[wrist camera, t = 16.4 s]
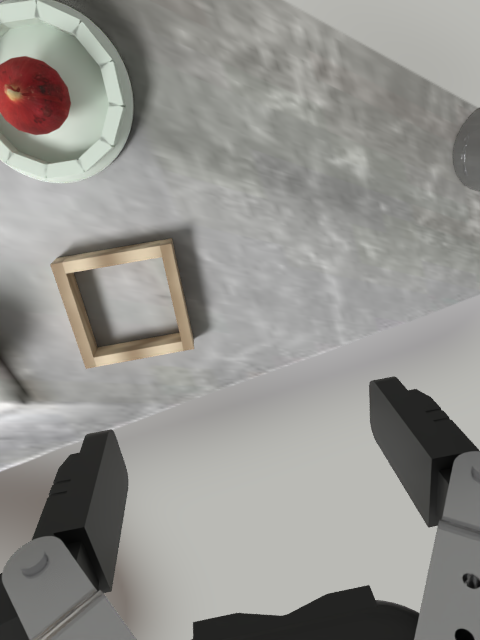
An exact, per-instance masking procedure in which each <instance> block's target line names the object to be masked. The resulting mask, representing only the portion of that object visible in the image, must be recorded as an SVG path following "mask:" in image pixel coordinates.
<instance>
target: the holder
mask: <svg viewBox="0 0 480 640" xmlns="http://www.w3.org/2000/svg"><path fill="white" fill-rule="evenodd" d="M159 257H162V258H163V263H164V267H165V271H166V276H167V280H168V285H169V289H170V293H171V298H172V302H173V306H174V311H175V315H176V320H177V324H178V328H179V333H174V334H169V335H163V336H158V337H152V338H147V339H141V340H136V341H130V342H125V343H119V344H114V345H108V346H103V347H97V344H96V341H95V338H94V335H93V331H92V328H91V325H90V322H89V319H88V316H87V313H86V310H85V307H84V303H83V300H82V297H81V294H80V291H79V288H78V285H77V282H76V279H75V276H74V272H78V271H84V270H90V269H96V268H101V267H107V266H113V265H119V264H124V263H130V262H136V261H142V260H148V259H153V258H159ZM50 265H51V268H52V271H53V274H54V277H55V280H56V283H57V286H58V289H59V291H60V294H61V297H62V300H63V303H64V306H65V309H66V312H67V315H68V318H69V321H70V324H71V326H72V329H73V332H74V335H75V338H76V341H77V344H78V347H79V350H80V353H81V356H82V359H83V361H84V364H85V367H86V369H87V368H93V367H98V366H103V365H109V364H114V363H120V362H125V361H131V360H136V359H142V358H147V357H152V356H158V355H163V354H169V353H174V352H180V351H185V350H191V349H194V338H193V334H192V329H191V325H190V320H189V315H188V311H187V306H186V301H185V297H184V292H183V287H182V283H181V278H180V273H179V269H178V264H177V259H176V255H175V250H174V245H173V241H172V238H170V239H164V240H158V241H153V242H147V243H141V244H135V245H129V246H124V247H118V248H112V249H106V250H100V251H94V252H89V253H83V254H77V255H71V256H65V257H60V258H56V259H55V260H54V261H53V262H52V263H51V264H50Z"/></svg>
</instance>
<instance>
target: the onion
mask: <svg viewBox="0 0 480 640" xmlns="http://www.w3.org/2000/svg"><path fill="white" fill-rule="evenodd" d="M70 106H71V101H70V96H69V91H68V87H67V86H66V84H65V83H64V81H63V80H62V78H61V77H60V75H59V74H58V72H57V71H56V70H55V69H53V68H52V67H51V66H49V65H48V64H46V63H45V62H44V61H41V60H38V59H34V58H31V57H27V56H22V57H15V58H11V59H9V60H7V61H5V62H4V63H2V64H0V113H1V114H2V116H3V117H4V119H5V120H6V121H7V122H8V123H10V124H11V125H12V126H14V127H15V128H16V129H18V130H19V131H23V132H26V133H30V134H33V135H42V134H49V133H51V132H53V131H55V130H57V129H59V128H60V127H61V126H62V124H63V123H64V122H65V120H66V119H67V118H68V114H69V110H70Z"/></svg>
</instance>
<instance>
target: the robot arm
mask: <svg viewBox="0 0 480 640" xmlns="http://www.w3.org/2000/svg"><path fill="white" fill-rule="evenodd" d="M453 164H454V168H455V172H456V174H457V176H458V178H459V179H460V180H461V182H462V183H463V184H464V185H466V186H467V187H469V188H470V189H473V190H476V191H480V108H479V109H477V110H476V111H475V112H474V113H473V114H472V115H471V116H470V117H469V118H468V119H467V120H466V122H465V123H464V124H463V126H462V127H461V129H460V131H459V133H458V135H457V138H456V141H455V144H454V150H453ZM369 395H370V423H371V429H372V432H373V435H374V438H375V440H376V442H377V444H378V445H379V447H380V448H381V450H382V452H383V454H384V455H385V457H386V458H387V460H388V462H389V463H390V465H391V467H392V468H393V470H394V471H395V473H396V475H397V477H398V478H399V480H400V482H401V483H402V485H403V486H404V488H405V490H406V491H407V493H408V495H409V496H410V498H411V500H412V501H413V503H414V505H415V506H416V508H417V509H418V511H419V513H420V514H421V516H422V518H423V519H424V521H425V523H426V524H427V526H428V527H433V526H438V528H437V533H436V537H435V542H434V547H433V552H432V557H431V561H430V566H429V571H428V576H427V581H426V585H425V590H424V595H423V600H422V604H421V609H420V613H418V612H416V611H414V610H412V609H409V608H407V607H405V606H402V605H399V604H396V603H392V602H386V601H380V600H375V598H374V596H373V593H372V591H371V588H370V586H369V585H368V586H363V587H358V588H354V589H349V590H344V591H339V592H334V593H330V594H326V595H324V596H322V597H320V598H318V599H316V600H314V601H312V602H311V603H309V604H307V605H305V606H303V607H301V608H299V609H297V610H295V611H293V612H291V613H290V614H287V615H284V616H275V615H260V614H244V613H235V614H230V615H226V616H221V617H216V618H211V619H206V620H202V621H197V622H193V639H192V640H480V451H479V449H477V447H476V446H475V445H474V444H473V443H472V442H471V441H470V440H469V439H468V438H467V436H466V435H465V434H464V433H463V432H462V431H461V430H460V429H459V428H458V427H457V425H456V424H455V423H454V422H453V421H452V420H450V419H449V417H448V416H447V414H446V413H445V412H444V411H442V410H441V408H440V407H439V406H438V405H437V403H436V402H435V401H434V400H433V399H432V398H431V397H429V396H428V395H426V394H424V393H422V392H420V391H418V390H417V389H414V390H409V391H408V390H407V389H406V388H405V387H404V386H403V385H402V383H401V382H400V381H399V380H398V379H397V378H396V377H389V378H384V379H378V380H373V381H371V382H370V385H369ZM53 483H54V485H52V488H51V490H50V493H49V497H48V498H47V501H46V504H45V506H44V509H43V512H42V514H41V517H40V520H39V522H38V525H37V528H36V531H35V533H34V536H33V539H32V541H30V542H28V543H27V544H25V545H23V546H22V547H21V548H19V549H18V550H17V551H16V552H15V553H14V554H13V555H12V556H11V558H10V559H9V560H8V562H7V563H6V565H5V567H4V570H3V573H1V574H0V640H137V639H136V638H135V637H134V635H133V634H132V632H131V631H130V630H129V628H128V627H127V625H126V624H125V623H124V621H123V620H122V618H121V617H120V616H119V614H118V613H117V612H116V610H115V609H114V607H113V606H112V605H111V603H110V602H109V600H108V599H107V597H106V596H105V595H104V593H106V592H111V591H112V584H113V578H114V571H115V565H116V560H117V554H118V547H119V541H120V535H121V528H122V523H123V517H124V510H125V504H126V498H127V491H128V474H127V469H126V466H125V463H124V460H123V457H122V454H121V451H120V448H119V445H118V442H117V439H116V436H115V434H114V431H113V430H106V431H101V432H96V433H90V434H87V435H86V436H85V438H84V441H83V444H82V447H81V450H80V453H76V454H71V455H70V456H69V457H68V458H67V459H66V460H65V462H64V463H63V464H62V465H61V466H60V467H59V469H58V472H57V474H56V477H55V480H54V482H53Z"/></svg>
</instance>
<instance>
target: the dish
mask: <svg viewBox="0 0 480 640" xmlns="http://www.w3.org/2000/svg"><path fill="white" fill-rule="evenodd" d="M22 56H27V57H31V58H34V59H38V60H41V61H44V62H45V63H46V64H48V65H49V66H51V67H52V68H53V69H55V70H56V71H57V72H58V74H59V75H60V77H61V78H62V80H63V81H64V83H65V84H66V86H67V87H68V91H69V96H70V101H71V106H70V110H69V114H68V118H67V119H66V120H65V122H64V123H63V124H62V126H61V127H60V128H59V129H57V130H55V131H53V132H51V133H49V134H42V135H33V134H30V133H26V132H23V131H19V130H18V129H16V128H15V127H14V126H12V125H11V124H10V123H8V122H7V121H6V120H5V119H4V117H3V116H2V114H1V113H0V160H1V161H2V162H4V163H5V164H7V165H8V166H9V167H11V168H12V169H14V170H16V171H18V172H20V173H21V174H24V175H26V176H28V177H31V178H34V179H37V180H41V181H46V182H52V183H69V182H76V181H80V180H84V179H86V178H89V177H91V176H94V175H95V174H97V173H99V172H101V171H102V170H104V169H105V168H106V167H107V166H109V165H110V164H111V163H112V162H113V161H114V160H115V159H116V158H117V156H118V155H119V154H120V152H121V151H122V149H123V147H124V146H125V144H126V142H127V139H128V137H129V134H130V131H131V126H132V122H133V112H134V102H133V92H132V86H131V82H130V79H129V75H128V72H127V70H126V67H125V65H124V62H123V60H122V59H121V57H120V55H119V53H118V51H117V50H116V48H115V47H114V45H113V44H112V43H111V41H110V40H109V39H108V37H107V36H106V35H105V34H104V33H103V32H102V31H101V30H100V28H99V27H97V26H96V25H95V24H94V23H93V22H92V21H91V20H90V19H88V18H87V17H86V16H84V15H83V14H81V13H80V12H78V11H77V10H75V9H73V8H71V7H69V6H67V5H65V4H62V3H60V2H57V1H54V0H7V1H5V2H2V3H0V64H2V63H4V62H5V61H7V60H9V59H11V58H15V57H22Z"/></svg>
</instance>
